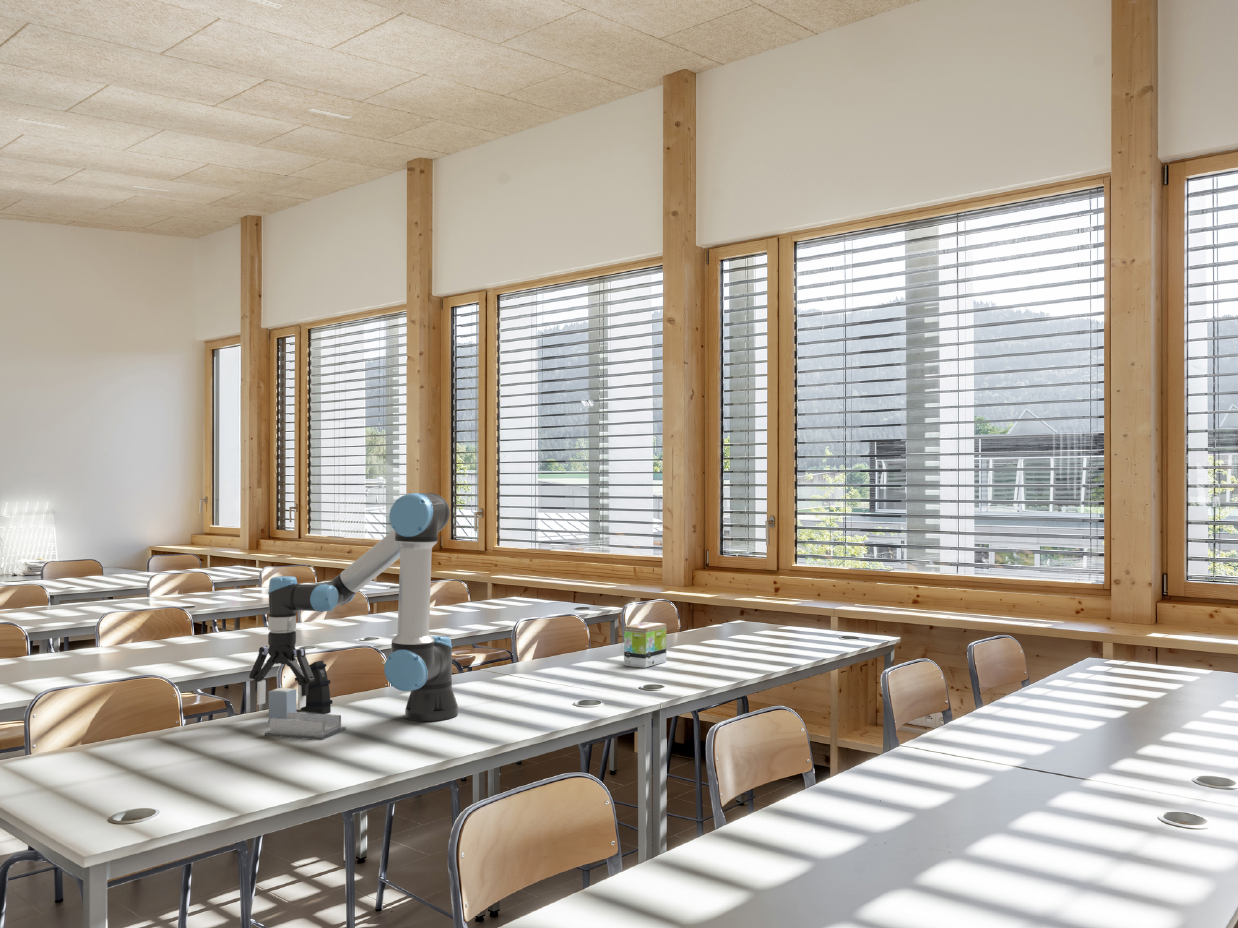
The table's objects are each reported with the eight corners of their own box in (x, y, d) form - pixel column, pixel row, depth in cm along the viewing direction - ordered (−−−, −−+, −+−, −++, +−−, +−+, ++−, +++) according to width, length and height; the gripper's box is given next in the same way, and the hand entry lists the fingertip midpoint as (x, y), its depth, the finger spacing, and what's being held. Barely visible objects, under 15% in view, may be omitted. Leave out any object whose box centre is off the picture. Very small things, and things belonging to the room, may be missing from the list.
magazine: (328, 710, 281) (314, 661, 285) (303, 724, 288) (290, 676, 292) (339, 707, 284) (325, 659, 288) (314, 721, 291) (300, 674, 295)
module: (296, 720, 276) (296, 688, 276) (286, 724, 271) (286, 691, 272) (278, 719, 277) (278, 687, 278) (268, 723, 273) (268, 690, 273)
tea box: (646, 668, 349) (646, 627, 350) (623, 666, 355) (622, 625, 355) (667, 661, 362) (666, 622, 362) (644, 659, 367) (644, 620, 368)
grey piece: (345, 729, 264) (345, 713, 264) (322, 739, 254) (322, 723, 254) (289, 725, 270) (289, 710, 270) (264, 735, 259) (264, 719, 259)
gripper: (327, 630, 275) (326, 705, 275) (254, 626, 282) (253, 699, 282) (311, 634, 268) (311, 711, 267) (236, 630, 275) (235, 705, 275)
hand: (281, 705), depth 275 cm, fingers open, 13 cm apart
